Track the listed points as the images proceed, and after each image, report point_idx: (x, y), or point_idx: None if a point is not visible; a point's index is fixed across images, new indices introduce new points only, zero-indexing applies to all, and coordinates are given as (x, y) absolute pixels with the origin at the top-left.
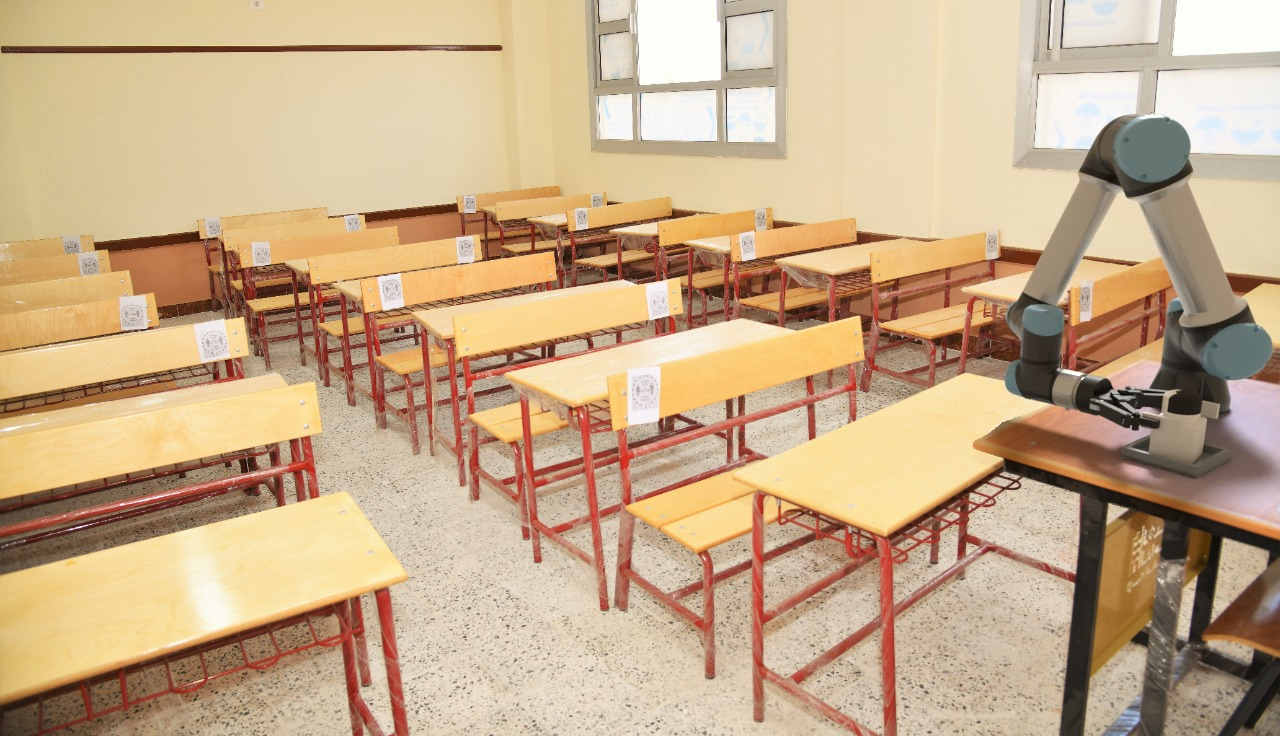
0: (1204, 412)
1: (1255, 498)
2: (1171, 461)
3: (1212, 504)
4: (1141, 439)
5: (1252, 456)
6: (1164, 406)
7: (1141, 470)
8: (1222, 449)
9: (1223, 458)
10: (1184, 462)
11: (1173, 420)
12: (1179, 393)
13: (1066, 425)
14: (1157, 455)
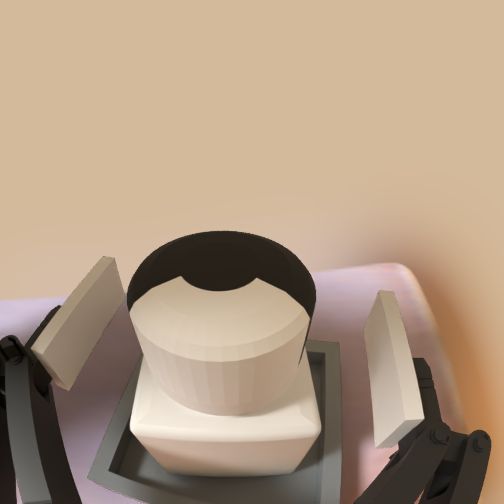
0: (105, 312)
1: (339, 281)
2: (340, 395)
3: (414, 309)
4: None
5: (121, 311)
6: (287, 372)
7: (380, 451)
8: None
9: None
10: (329, 369)
11: (398, 311)
12: (252, 271)
13: None
14: (331, 432)
